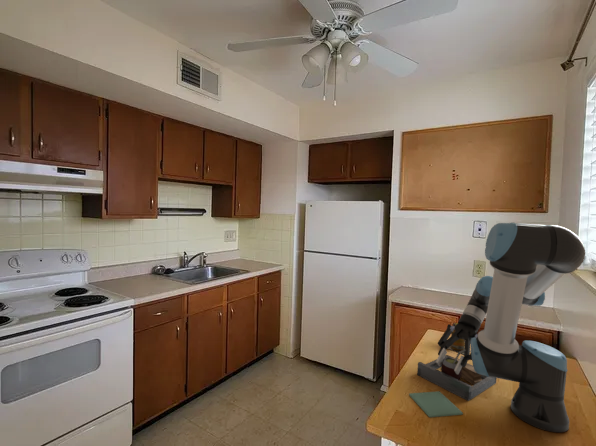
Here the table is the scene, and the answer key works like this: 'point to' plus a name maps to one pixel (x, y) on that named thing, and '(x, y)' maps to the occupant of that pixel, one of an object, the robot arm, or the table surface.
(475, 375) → the offcut stack
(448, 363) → the mate gourd
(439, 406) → the green mat
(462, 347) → the condiment
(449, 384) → the tray
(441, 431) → the table surface
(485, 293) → the robot arm
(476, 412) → the table surface
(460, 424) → the table surface
